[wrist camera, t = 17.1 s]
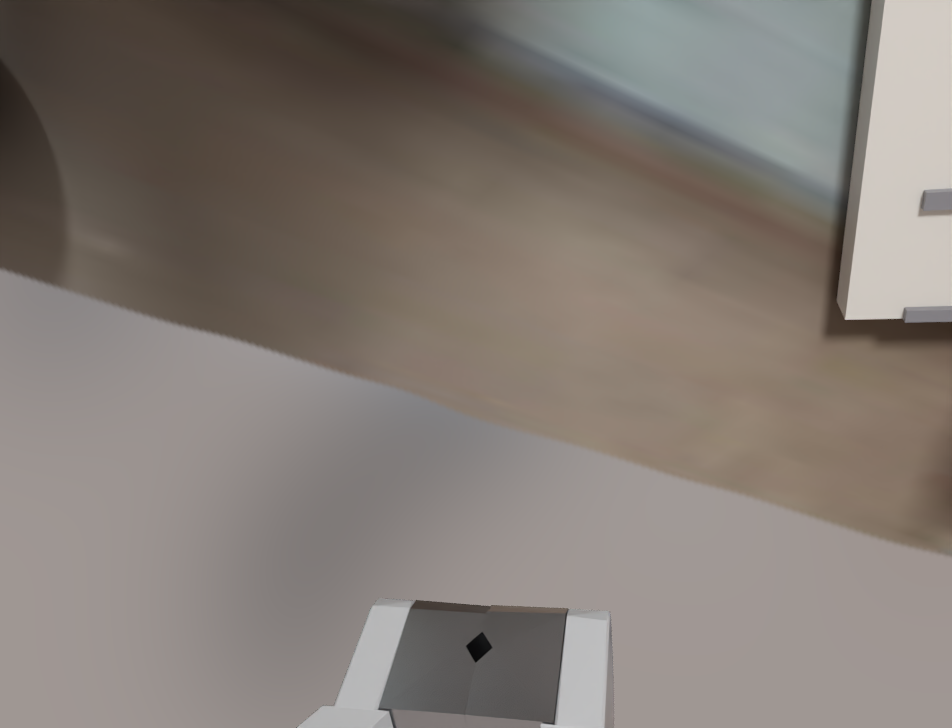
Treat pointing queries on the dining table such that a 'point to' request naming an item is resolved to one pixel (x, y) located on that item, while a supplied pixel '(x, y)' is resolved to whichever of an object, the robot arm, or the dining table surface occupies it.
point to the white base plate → (902, 169)
